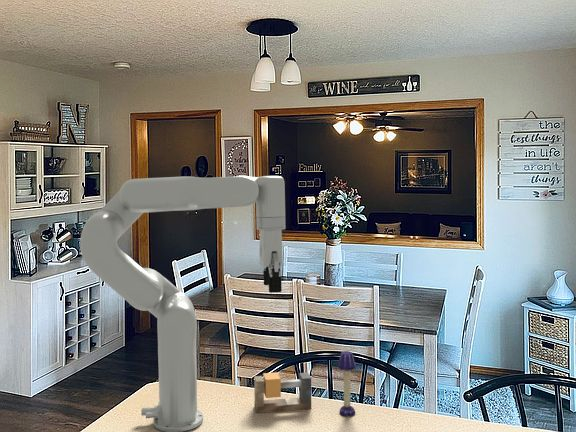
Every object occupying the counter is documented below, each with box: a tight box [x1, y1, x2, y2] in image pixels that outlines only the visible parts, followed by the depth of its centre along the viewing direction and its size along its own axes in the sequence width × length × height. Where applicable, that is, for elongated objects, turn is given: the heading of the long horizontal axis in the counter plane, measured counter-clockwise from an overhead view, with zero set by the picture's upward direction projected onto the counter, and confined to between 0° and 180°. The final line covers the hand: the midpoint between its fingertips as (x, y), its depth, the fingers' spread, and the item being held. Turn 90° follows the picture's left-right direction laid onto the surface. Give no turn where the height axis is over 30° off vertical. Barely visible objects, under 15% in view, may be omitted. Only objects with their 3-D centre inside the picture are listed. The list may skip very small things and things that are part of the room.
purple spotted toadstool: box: [337, 350, 356, 417], centre depth 151 cm, size 5×5×17 cm
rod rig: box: [253, 372, 312, 414], centre depth 155 cm, size 15×4×8 cm, turn 101°
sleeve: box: [262, 371, 282, 399], centre depth 154 cm, size 4×5×5 cm
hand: (272, 288), depth 149 cm, fingers open, 9 cm apart
